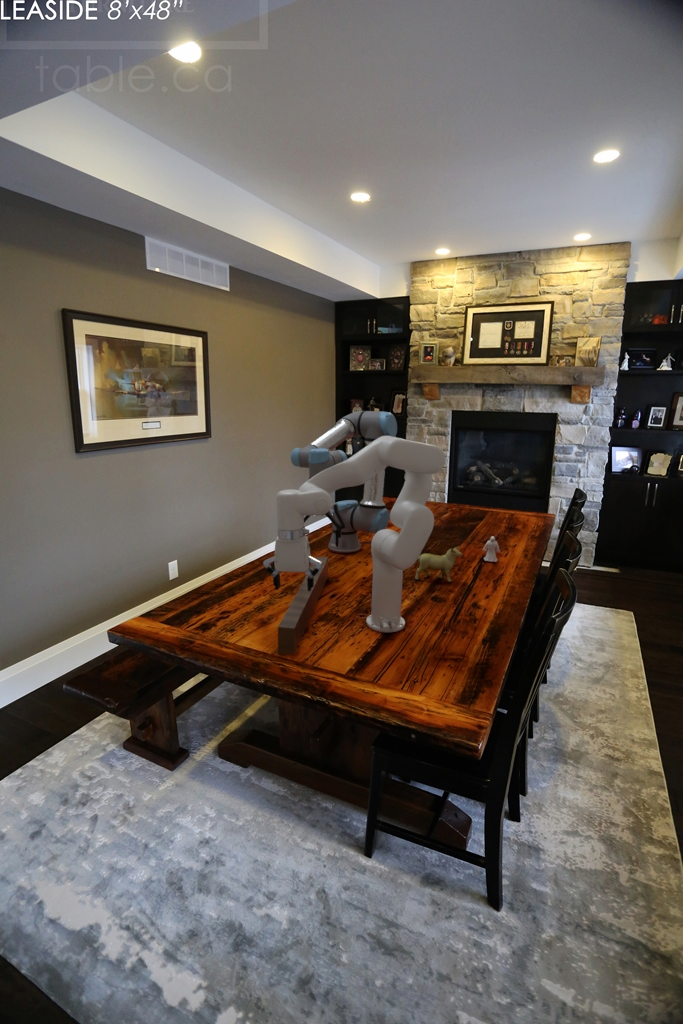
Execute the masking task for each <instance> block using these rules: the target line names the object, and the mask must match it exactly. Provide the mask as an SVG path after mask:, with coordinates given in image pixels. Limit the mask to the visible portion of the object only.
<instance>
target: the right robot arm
mask: <svg viewBox="0 0 683 1024" xmlns="http://www.w3.org/2000/svg"><path fill="white" fill-rule="evenodd" d="M445 465H446V454H445V452H444V450H443V449H442V448H441V447H439V446H438V445H435V444H430V443H427V442H426V443H425V442H421V441H413V440H409V439H404V438H402V437H397V436H396V437H392V436H382V437H379V438H377V439H376V440H374V441H373V442H372V443H370V444H369V445H367V444H366V445H365V447H363V448H361V449H360V450H358V451H357V452H356V453H354V454H352V456H350V457H349V458H347V460H346V461H344V462H341V463H339V464H336V465H334V466H332V467H330V468H327V469H325V470H323V471H321V472H320V473H318V474H316V475H315V476H313V477H312V478H311V479H309V478H308V480H306V481H305V482H303V483H302V484H301V485H300V487H298V489H293V488H292V489H290V488H289V489H282V490H280V491H278V492H277V493H276V495H275V503H276V521H277V536H276V538H275V544H274V555H272V556H271V557H268V558H267V559H265V560H263V562H262V564H263V566H264V568H265V569H266V571H267V572H268V573H269V574H270V575H271V577H272V580H273V587H274V589H275V591H277V590H279V589H280V587H281V575H280V572H283V573H304V574H305V575H307V576H308V578H307V586H308V591H311V588H312V587H314V576H315V575H316V574H317V573H318V571H319V569H320V568H321V566H322V562H321V561H319V560H317V559H316V557H313V556H311V547H310V541H309V537H308V536H307V535H310V529H307V528H306V527H305V523H304V518H305V516H306V515H311V516H313V517H315V516H316V517H317V516H324V514H326V513H327V512H329V511H330V512H331V510H332V504H334V503H333V498H332V496H331V494H332V493H333V492H336V491H338V490H340V489H343V488H350V487H351V488H352V487H359V486H361V485H365V482H366V481H368V480H369V479H371V478H372V477H373V476H375V475H376V474H377V473H379V472H380V471H382V470H383V469H385V470H386V468H387V467H391V468H395V469H398V470H403V471H405V481H404V484H403V486H402V488H401V491H400V493H399V495H398V497H397V499H396V500H395V502H394V504H393V506H392V508H391V510H390V512H389V514H390V516H389V521H390V523H391V524H392V525H394V527H396V528H398V529H400V532H397V531H396V530H393V529H390V528H385V529H382V530H380V531H378V532H377V533H376V534H375V533H374V535H373V537H372V539H371V541H372V542H370V543H371V544H370V551H371V558H372V560H371V561H372V585H371V586H372V587H371V607H370V609H371V613H370V615H368V616H367V617H366V621H365V622H366V623H365V624H366V625H367V627H368V628H369V629H372V630H373V631H376V632H379V633H396V632H398V631H402V630H403V629H404V628H405V626H406V620H405V618H403V617H402V615H401V614H402V599H403V598H402V597H403V580H404V570H407V569H410V568H411V567H413V566H414V565H415V564H416V562H417V561H418V557H419V556H420V555H422V553H423V549H424V548H425V546H426V544H427V542H428V540H429V538H430V536H431V534H432V532H433V529H434V526H435V516H434V512H433V511H432V510H431V509H430V508H429V507H428V506H426V504H427V502H428V499H429V498H430V495H431V492H432V489H433V475H434V474H437V473H439V472H440V471H441V470H443V468H444V466H445ZM399 533H400V534H399ZM273 562H274V567H273V566H272V565H271V564H272V563H273ZM312 564H315V565H316V568H315V569H314V570H312V569H311V566H312Z"/></svg>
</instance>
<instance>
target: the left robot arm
mask: <svg viewBox="0 0 683 1024" xmlns="http://www.w3.org/2000/svg"><path fill="white" fill-rule="evenodd" d="M397 433H398V423H397V420H396V417H395V416H394V414H393V413H391V412H390V411H389V412H388V411H381V410H379V411H377V410H376V411H373V410H358V411H354V412H352V413H349V414H346V415H345V416H343V417H342V418H340V419H339V420H338V421H337V422H336V423H335V425H334V426H333V427H331V428H330V429H329V430H327V431H326V432H324V433H323V434H322V435H320V436H319V437H317V438H316V439H314V440H313V441H312V442H311V443H309V444H308V445H306V446H305V447H295V448H294V449H292V451H291V453H290V461H291V465H293V466H294V467H299V468H301V469H303V468H305V469H308V480H309V479H311V478H312V477H313V476H315V475H316V474H318V473H320V472H321V471H323V470H325V469H327V468H330V467H332V466H334V465H336V464H339V463H341V462H344V461H346V460H347V459H348V456H347V454H346V453H345V452H344V451H343V450H341V449H336V448H337V447H338V446H339V445H341V444H343V442H344V441H348V440H352V438H364V443H365V444H366V446H367V445H369V444H370V443H372V442H373V441H374V440H376V439H377V438H379V437H382V436H392V437H397ZM385 474H386V468H385V469H383V470H382V471H380V472H379V473H377V474H376V475H375V476H373V477H372V478H371V479H369V480H368V481H366V482H365V483H364V487H363V498H362V499H361V501H360V502H358V500H355V499H347V500H346V499H345V500H340V501H337V502H334V503H333V504H332V508H331V510H332V512H331V510H330V511H329V512H327V513H326V514H324V515H325V516H326V517H327V518H328V519H329V521H330V522H331V524H332V526H331V527H332V528H331V529H332V531H331V532H332V533H331V536H330V538H329V542H328V546H327V548H328V549H327V550H328V551H330V552H332V553H335V554H339V555H340V554H341V555H350V554H355V553H358V552H360V551H361V546H362V545H361V544H370V543H371V542H372V540H368V541H359V536H358V531H359V532H364V533H369V534H374V535H375V534H376V533H377V532H378V531H380V530H382V529H387V527H388V525H389V521H390V511H389V510H388V509H387V508H386V503H385V501H384V500H383V498H384V487H385V477H386V475H385ZM324 515H323V516H324ZM311 516H312V515H304V524H305V523H306V522H307V521H308V519H309V518H310V517H311ZM398 533H399V534H400V532H398Z"/></svg>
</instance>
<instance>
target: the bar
mask: <svg viewBox="0 0 683 1024" xmlns="http://www.w3.org/2000/svg"><path fill="white" fill-rule="evenodd" d="M315 559H317V560H319V561H321V562H322V566H321V568H320V569H319V571H318V573H317V574H316V575H315V576H314V587H312V588H311V591H308V586H307V578H308V576H307V574H305V577H304V579H303V581H302V583H301V585H300V586H299V588H298V590H297V592H296V594H295V596H294V597H293V599H292V601H291V603H290V604H289V606H288V607H287V610H286V612H285V614H284V615H283V617H282V619H281V621H280V623H279V624H278V626H277V650H278V651H277V652H278V654H282V655H290V656H291V655H292V656H294V655H296V652H297V649H298V647H299V645H300V644H301V643H300V642H301V641H302V638H303V636H304V633H305V631H306V630H307V627H308V624H309V622H310V619H311V618H312V615H313V612H314V611H315V608H316V605H317V603H318V601H319V599H320V597H321V594H322V592H323V590H324V587H325V586H326V582H327V580H328V578H329V557H328V556H327V557H326V556H316V557H315ZM310 568H311V569H312V570H314V569H315V568H316V565H315V564H313V563H311V566H310Z"/></svg>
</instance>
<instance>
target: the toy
mask: <svg viewBox="0 0 683 1024" xmlns="http://www.w3.org/2000/svg"><path fill="white" fill-rule="evenodd" d="M460 548H461V546H460V545H459V546H456V547H453V548H449V549H448V550H447V551H446V553H445V554H442V555H437V554H432V553H422V554H420V556H419V557H418V559H417V561H418V564H419V567H418V568H417V569H416V573H415V576H414V579H415V580H416V581H420V578H419V575H420V573H421V572H423V573H425V575H426V576H427V577H428V578H429V577H430V572H429V571H428V570H427V569H429V570H432V571H440V572H439V574H438V578H439V579H443V574H445V576H446V581H447V583H449V584H451V583H453V581H452V579H451V577H450V571H451V570H452V568H454V565H455V562H456V557H458V558H461V557H462V556H463V553H462V552H461V551H459V549H460Z"/></svg>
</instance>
